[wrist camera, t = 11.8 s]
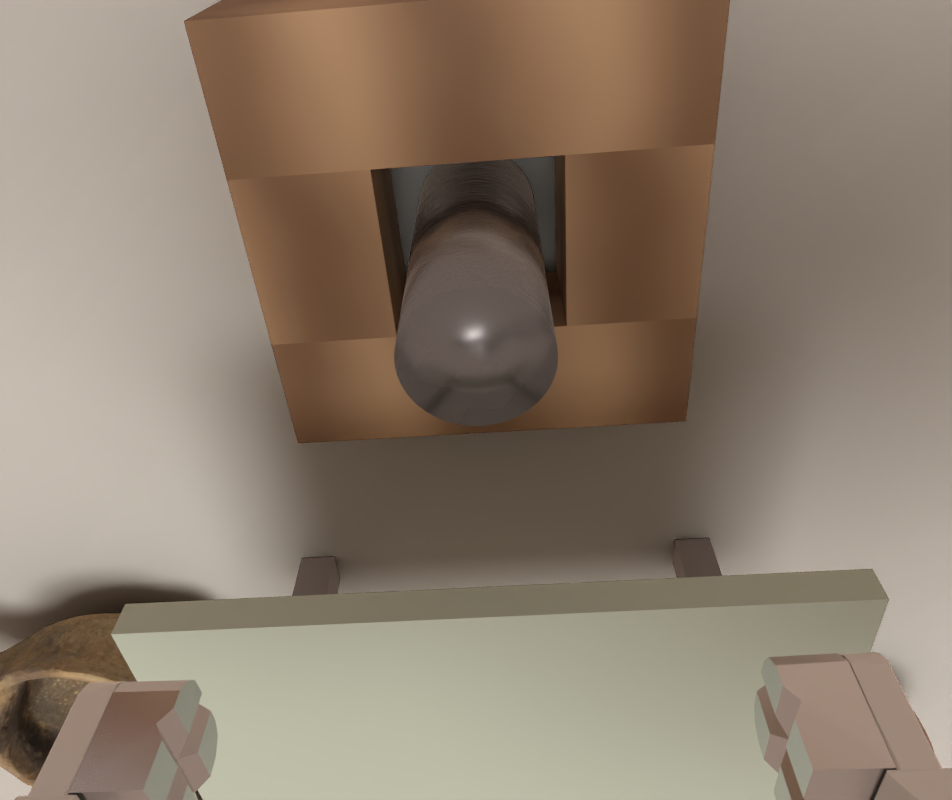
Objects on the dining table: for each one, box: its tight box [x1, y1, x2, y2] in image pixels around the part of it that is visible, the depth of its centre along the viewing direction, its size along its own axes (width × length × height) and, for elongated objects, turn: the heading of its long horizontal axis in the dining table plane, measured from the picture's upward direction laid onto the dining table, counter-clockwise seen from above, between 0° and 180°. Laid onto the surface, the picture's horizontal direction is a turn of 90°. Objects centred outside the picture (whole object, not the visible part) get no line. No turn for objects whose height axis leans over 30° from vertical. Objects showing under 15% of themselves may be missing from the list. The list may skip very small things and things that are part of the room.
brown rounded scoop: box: [0, 613, 203, 800], centre depth 37 cm, size 14×18×10 cm
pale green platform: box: [111, 538, 889, 800], centre depth 29 cm, size 20×13×13 cm, turn 94°
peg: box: [394, 159, 558, 426], centre depth 23 cm, size 4×4×10 cm
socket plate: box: [184, 0, 730, 443], centre depth 25 cm, size 14×14×4 cm
